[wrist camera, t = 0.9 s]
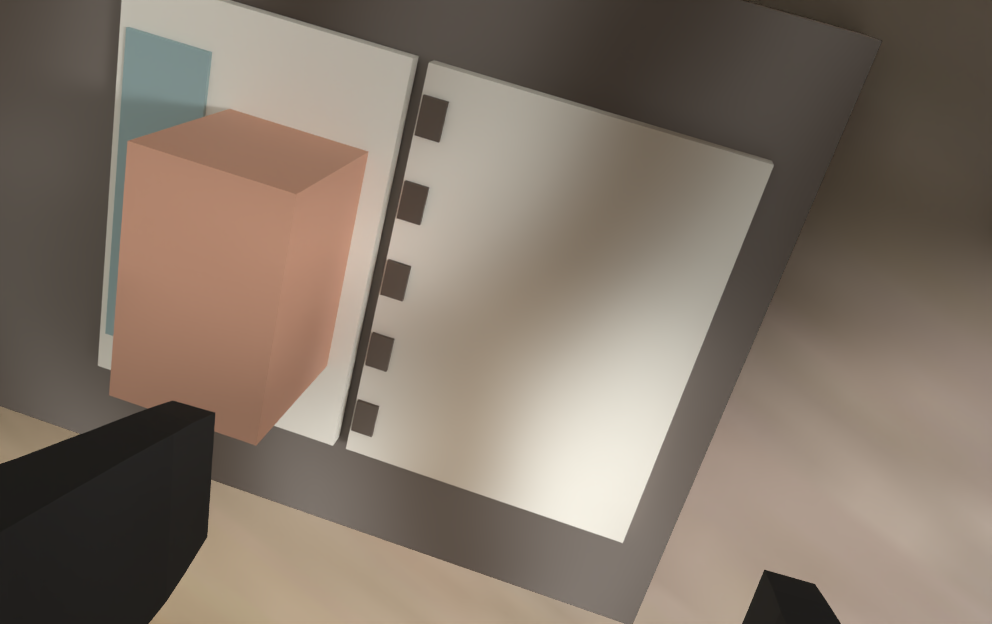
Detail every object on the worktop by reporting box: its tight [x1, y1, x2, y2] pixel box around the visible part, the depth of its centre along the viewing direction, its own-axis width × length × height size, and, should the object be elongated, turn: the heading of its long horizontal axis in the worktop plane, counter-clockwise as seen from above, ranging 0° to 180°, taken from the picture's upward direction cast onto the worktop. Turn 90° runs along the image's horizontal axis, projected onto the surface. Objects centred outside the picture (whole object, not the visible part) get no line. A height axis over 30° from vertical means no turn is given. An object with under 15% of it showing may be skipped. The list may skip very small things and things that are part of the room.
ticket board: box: [0, 0, 882, 624], centre depth 19 cm, size 22×14×2 cm, turn 75°
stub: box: [98, 0, 419, 446], centre depth 17 cm, size 6×9×4 cm, turn 165°
